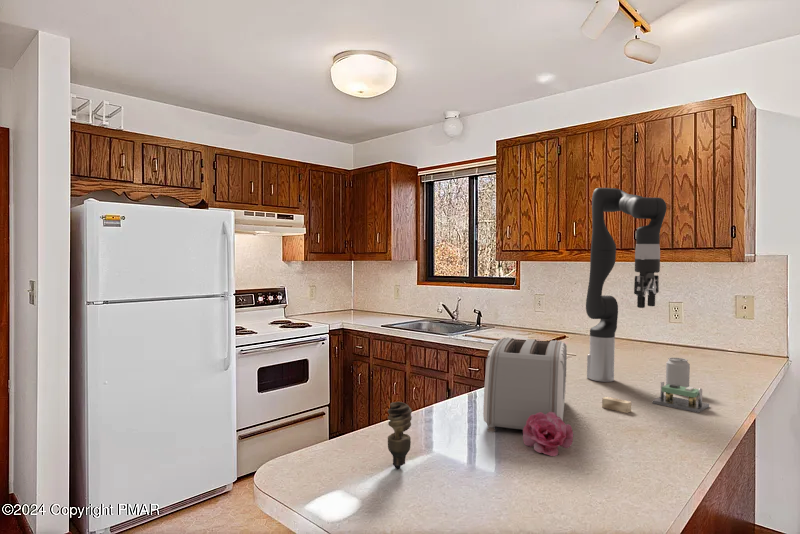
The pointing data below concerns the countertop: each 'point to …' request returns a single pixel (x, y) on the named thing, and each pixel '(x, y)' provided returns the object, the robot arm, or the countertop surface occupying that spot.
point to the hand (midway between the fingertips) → (646, 306)
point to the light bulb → (399, 432)
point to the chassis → (681, 401)
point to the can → (677, 372)
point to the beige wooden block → (616, 404)
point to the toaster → (523, 381)
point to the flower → (547, 433)
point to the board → (680, 390)
